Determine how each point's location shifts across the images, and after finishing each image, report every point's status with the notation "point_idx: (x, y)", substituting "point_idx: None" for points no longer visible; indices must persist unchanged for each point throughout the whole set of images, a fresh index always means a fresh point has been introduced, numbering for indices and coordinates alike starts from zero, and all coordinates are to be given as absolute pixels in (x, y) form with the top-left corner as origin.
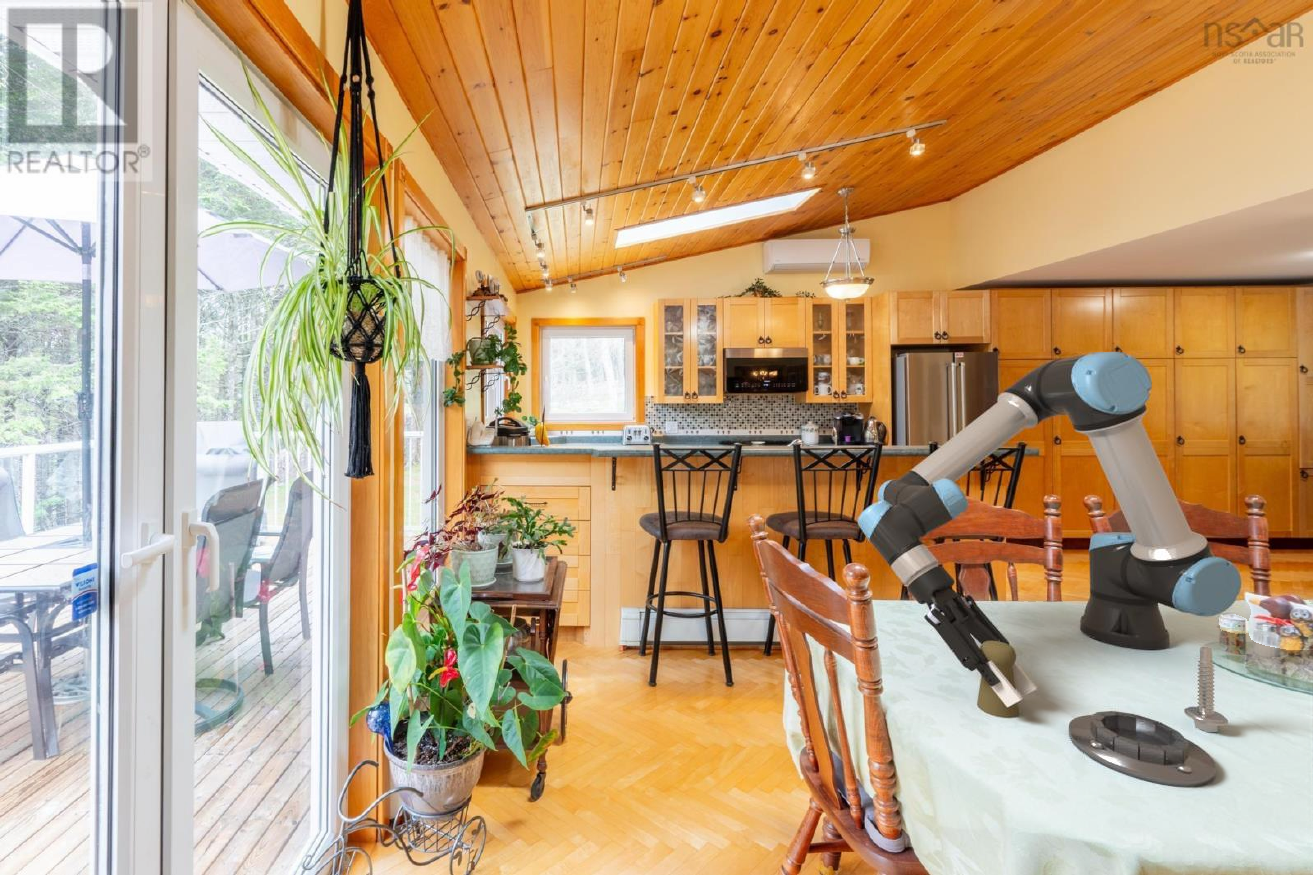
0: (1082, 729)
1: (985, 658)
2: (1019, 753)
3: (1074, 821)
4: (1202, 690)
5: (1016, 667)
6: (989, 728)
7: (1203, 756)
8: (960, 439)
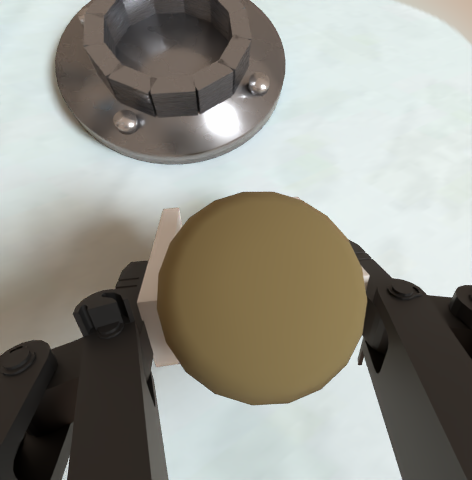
0: (206, 125)
1: (393, 287)
2: (384, 175)
3: (469, 58)
4: None
5: None
6: None
7: None
8: None
